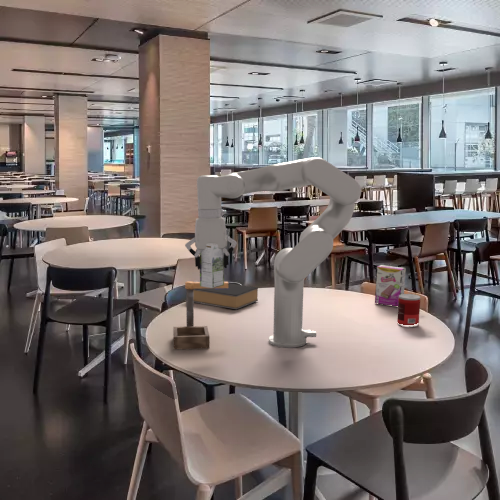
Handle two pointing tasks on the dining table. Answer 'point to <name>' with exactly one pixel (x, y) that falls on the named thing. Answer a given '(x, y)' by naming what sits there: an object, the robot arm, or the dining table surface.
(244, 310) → the dining table surface
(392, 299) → the candy bar box
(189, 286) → the bar
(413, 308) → the canned food
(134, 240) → the dining table surface
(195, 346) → the holder
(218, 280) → the syrup box
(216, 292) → the book
